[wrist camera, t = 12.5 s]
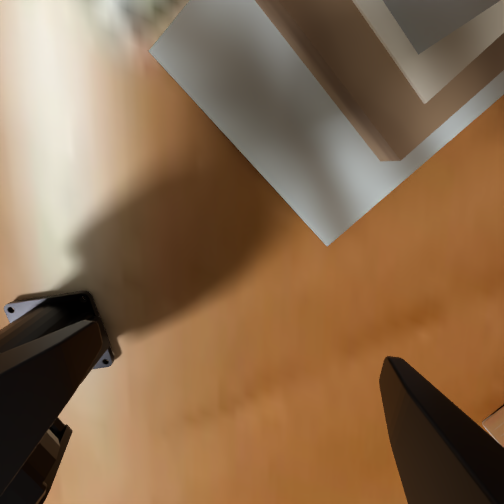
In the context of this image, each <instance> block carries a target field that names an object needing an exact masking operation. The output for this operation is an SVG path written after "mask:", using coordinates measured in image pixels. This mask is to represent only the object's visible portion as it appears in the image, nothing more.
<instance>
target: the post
mask: <svg viewBox="0 0 504 504" xmlns="http://www.w3.org/2000/svg"><path fill="white" fill-rule="evenodd" d="M383 1H384V3H385V5H386V6H387V8H388V9H389V11H390V12H391V14H392V15H393V17H394V18H395V20H396V21H397V23H398V24H399V26H400V27H401V29H402V30H403V32H404V33H405V35H406V37H407V38H408V40H409V41H410V43H411V44H412V46H413V47H414V49H415V50H416V52H417V53H418V55H419V54H420V53H422V52H423V51H425V50H426V49H428V48H429V47H431V46H432V45H434V44H435V43H437V42H438V41H440V40H441V39H443V38H444V37H446V36H447V35H449V34H450V33H452V32H453V31H455V30H456V29H458V28H459V27H461V26H463V25H464V24H466V23H467V22H469V21H470V20H472V19H473V18H475V17H476V16H478V15H479V14H481V13H482V12H484V11H485V10H487V9H488V8H490V7H491V6H493V5H494V4H496V3H497V2H499V1H500V0H383Z"/></svg>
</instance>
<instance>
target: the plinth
mask: <svg viewBox="0 0 504 504" xmlns="http://www.w3.org/2000/svg"><path fill="white" fill-rule="evenodd" d="M149 52H150V53H151V54H152V56H153V57H154V58H155V59H156V60H157V61H158V62H159V63H160V64H161V65H162V66H163V68H164V69H165V70H166V71H167V72H168V73H169V74H170V75H171V76H172V77H173V79H174V80H175V81H176V82H177V83H178V84H179V85H180V86H181V87H182V88H183V89H184V91H185V92H186V93H187V94H188V95H189V96H190V97H191V98H192V99H193V100H194V102H195V103H196V104H197V105H198V106H199V107H200V108H201V109H202V110H203V111H204V112H205V114H206V115H207V116H208V117H209V118H210V119H211V120H212V121H213V122H214V123H215V124H216V126H217V127H218V128H219V129H220V130H221V131H222V132H223V133H224V134H225V135H226V137H227V138H228V139H229V140H230V141H231V142H232V143H233V144H234V145H235V146H236V147H237V149H238V150H239V151H240V152H241V153H242V154H243V155H244V156H245V157H246V158H247V160H248V161H249V162H250V163H251V164H252V165H253V166H254V167H255V168H256V169H257V170H258V172H259V173H260V174H261V175H262V176H263V177H264V178H265V179H266V180H267V181H268V182H269V184H270V185H271V186H272V187H273V188H274V189H275V190H276V191H277V192H278V193H279V195H280V196H281V197H282V198H283V199H284V200H285V201H286V202H287V203H288V204H289V205H290V207H291V208H292V209H293V210H294V211H295V212H296V213H297V214H298V215H299V216H300V218H301V219H302V220H303V221H304V222H305V223H306V224H307V225H308V226H309V227H310V228H311V230H312V231H313V232H314V233H315V234H316V235H317V236H318V237H319V238H320V239H321V240H322V242H323V243H324V244H325V245H326V246H328V245H330V244H331V243H332V242H333V241H334V240H335V239H336V238H338V237H339V236H340V235H341V234H342V233H343V232H345V231H346V230H347V229H348V228H349V227H350V226H352V225H353V224H354V223H355V222H356V221H357V220H359V219H360V218H361V217H362V216H363V215H364V214H365V213H367V212H368V211H369V210H370V209H371V208H372V207H374V206H375V205H376V204H377V203H378V202H379V201H381V200H382V199H383V198H384V197H385V196H386V195H388V194H389V193H390V192H391V191H392V190H393V189H394V188H396V187H397V186H398V185H399V184H400V183H401V182H403V181H404V180H405V179H406V178H407V177H408V176H410V175H411V174H412V173H413V172H414V171H415V170H417V169H418V168H419V167H420V166H421V165H422V164H423V163H425V162H426V161H427V160H428V159H429V158H430V157H432V156H433V155H434V154H435V153H436V152H437V151H439V150H440V149H441V148H442V147H443V146H444V145H446V144H447V143H448V142H449V141H450V140H451V139H452V138H454V137H455V136H456V135H457V134H458V133H459V132H461V131H462V130H463V129H464V128H465V127H466V126H468V125H469V124H470V123H471V122H472V121H473V120H475V119H476V118H477V117H478V116H479V115H480V114H481V113H483V112H484V111H485V110H486V109H487V108H488V107H490V106H491V105H492V104H493V103H494V102H495V101H497V100H498V99H499V98H500V97H501V96H502V95H504V0H500V1H499V2H497V3H496V4H494V5H493V6H491V7H490V8H488V9H487V10H485V11H484V12H482V13H481V14H479V15H478V16H476V17H475V18H473V19H472V20H470V21H469V22H467V23H466V24H464V25H463V26H461V27H459V28H458V29H456V30H455V31H453V32H452V33H450V34H449V35H447V36H446V37H444V38H443V39H441V40H440V41H438V42H437V43H435V44H434V45H432V46H431V47H429V48H428V49H426V50H425V51H423V52H422V53H420V54H419V55H418V53H417V52H416V50H415V49H414V47H413V46H412V44H411V43H410V41H409V40H408V38H407V37H406V35H405V33H404V32H403V30H402V29H401V27H400V26H399V24H398V23H397V21H396V20H395V18H394V17H393V15H392V14H391V12H390V11H389V9H388V8H387V6H386V5H385V3H384V1H383V0H190V1H189V2H188V3H187V4H186V6H185V7H184V8H183V9H182V10H181V12H180V13H179V14H178V15H177V17H176V18H175V19H174V20H173V22H172V23H171V24H170V25H169V26H168V28H167V29H166V30H165V31H164V33H163V34H162V35H161V36H160V38H159V39H158V40H157V41H156V43H155V44H154V45H153V46H152V47H151V49H150V50H149Z"/></svg>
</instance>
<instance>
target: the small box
mask: <svg viewBox="0 0 504 504" xmlns="http://www.w3.org/2000/svg"><path fill="white" fill-rule="evenodd" d="M482 424H483V426H484V427H485V428H486V430H487V431H488V432H489V433H490V434H491V435H492V436H493V438H494V439H495V440H496V441H497V442H498V443H499V444H500V445H502V446H503V447H504V406H503V407H502V408H501V409H499V410H498V411H497V412H495V413H494V414H492V415H491V416H489V417H488V418H486V419H485V420H484V421H483V422H482Z"/></svg>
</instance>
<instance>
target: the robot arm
mask: <svg viewBox="0 0 504 504" xmlns="http://www.w3.org/2000/svg"><path fill="white" fill-rule="evenodd" d="M82 296H84V297H85V298H86V300H84V299H83V297H82ZM12 308H14V310H13V309H12ZM4 311H5V313H6V315H7V318H8V320H9V322H10V324H9V325H7V326H6V327H4V328H2V329H1V330H0V504H43V503H44V501H45V499H46V497H47V495H48V493H49V491H50V489H51V486H52V483H53V481H54V478H55V476H56V473H57V470H58V468H59V465H60V463H61V460H62V457H63V455H64V452H65V450H66V447H67V444H68V442H69V439H70V437H71V434H72V430H71V428H70V427H69V426H68V425H64V424H63V422H62V421H61V420H60V419H59V418H58V415H59V414H60V413H61V411H62V410H63V408H64V407H65V406H66V404H67V403H68V401H69V400H70V399H71V397H72V396H73V394H74V393H75V391H76V390H77V388H78V386H79V385H80V384H81V383H82V382H83V380H84V379H85V378H86V376H87V375H88V374H89V372H90V371H91V370H92V369H97V368H104V367H109V366H111V365H112V363H113V362H114V356H113V353H112V350H111V348H110V342H109V339H108V336H107V334H106V331H105V328H104V325H103V322H102V319H101V318H100V316H99V313H98V311H97V308H96V305H95V302H94V299H93V296H92V295H91V293H90V292H88V291H80V292H73V293H67V294H60V295H53V296H46V297H40V298H33V299H26V300H20V301H13V302H10V303H8V304H7V305H5V306H4ZM105 359H107V360H108V361H106V360H105ZM379 384H380V391H381V396H382V402H383V407H384V413H385V418H386V423H387V429H388V434H389V439H390V443H391V447H392V451H393V454H394V458H395V461H396V464H397V468H398V471H399V475H400V478H401V481H402V485H403V488H404V492H405V495H406V498H407V502H408V504H504V447H503V446H502V445H500V444H499V443H498V442H497V441H496V440H495V439H494V438H492V437H491V436H490V435H489V434H488V433H487V432H486V431H484V430H483V429H482V428H481V427H480V426H479V425H478V424H477V423H475V422H474V421H473V420H472V419H471V418H470V417H469V416H467V415H466V414H465V413H464V412H463V411H462V410H461V409H459V408H458V407H457V406H456V405H455V404H454V403H453V402H451V401H450V400H449V399H448V398H447V397H446V396H445V395H443V394H442V393H441V392H440V391H439V390H438V389H437V388H435V387H434V386H433V385H432V384H431V383H430V382H429V381H427V380H426V379H425V378H424V377H423V376H422V375H421V374H420V373H418V372H417V371H416V370H415V369H414V368H413V367H412V366H410V365H409V364H408V363H407V362H406V361H405V360H403V359H402V358H399V357H391V356H387V357H386V358H385V359H384V363H383V367H382V370H381V374H380V379H379Z"/></svg>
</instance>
